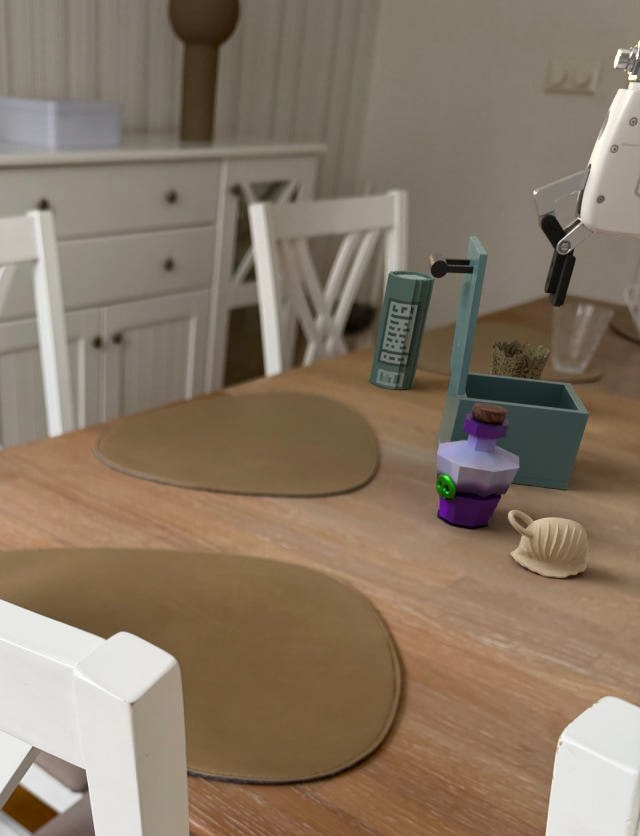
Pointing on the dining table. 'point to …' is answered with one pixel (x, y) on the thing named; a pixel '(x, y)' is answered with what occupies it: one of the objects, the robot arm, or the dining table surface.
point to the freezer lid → (463, 304)
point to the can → (401, 329)
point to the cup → (518, 360)
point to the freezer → (524, 423)
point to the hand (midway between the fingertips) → (614, 310)
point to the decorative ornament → (550, 545)
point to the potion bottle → (475, 469)
